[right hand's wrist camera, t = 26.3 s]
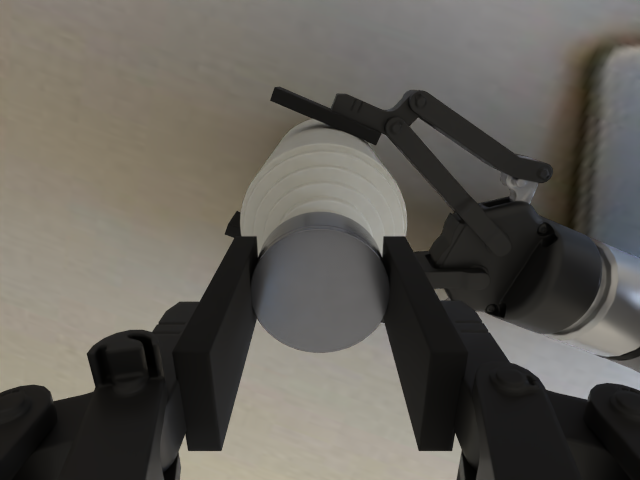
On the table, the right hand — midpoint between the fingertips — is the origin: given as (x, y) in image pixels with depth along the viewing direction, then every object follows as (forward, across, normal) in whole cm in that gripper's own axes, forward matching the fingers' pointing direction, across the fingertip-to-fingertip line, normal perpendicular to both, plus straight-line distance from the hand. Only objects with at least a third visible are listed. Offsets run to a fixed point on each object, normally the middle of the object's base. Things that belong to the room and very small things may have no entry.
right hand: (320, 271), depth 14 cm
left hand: (+12, -4, +2) cm, 13 cm away
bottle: (+18, 0, 0) cm, 18 cm away
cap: (-2, 0, 0) cm, 2 cm away
